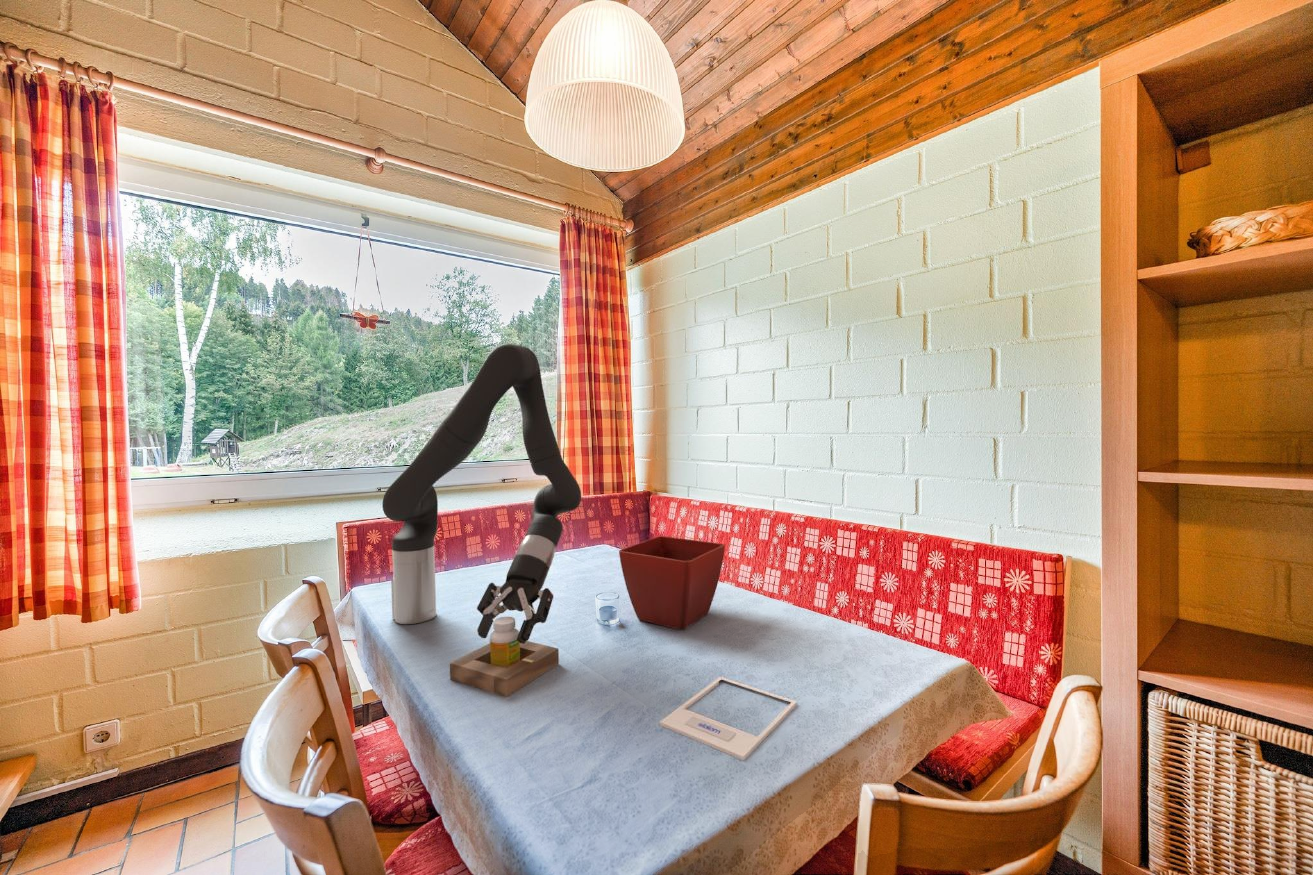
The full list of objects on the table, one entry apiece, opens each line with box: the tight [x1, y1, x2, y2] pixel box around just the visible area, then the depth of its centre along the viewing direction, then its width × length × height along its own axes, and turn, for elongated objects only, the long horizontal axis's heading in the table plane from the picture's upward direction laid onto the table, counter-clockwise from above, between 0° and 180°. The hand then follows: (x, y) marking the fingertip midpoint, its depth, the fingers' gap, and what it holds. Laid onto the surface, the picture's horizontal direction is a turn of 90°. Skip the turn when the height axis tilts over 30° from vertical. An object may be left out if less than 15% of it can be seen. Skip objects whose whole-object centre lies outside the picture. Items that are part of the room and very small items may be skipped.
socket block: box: [449, 640, 560, 697], centre depth 102 cm, size 14×14×3 cm
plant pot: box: [618, 535, 726, 631], centre depth 129 cm, size 19×19×17 cm
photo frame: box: [659, 676, 798, 761], centre depth 86 cm, size 15×1×18 cm
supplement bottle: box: [489, 616, 520, 669], centre depth 102 cm, size 5×5×10 cm
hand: (500, 639), depth 101 cm, fingers open, 8 cm apart
